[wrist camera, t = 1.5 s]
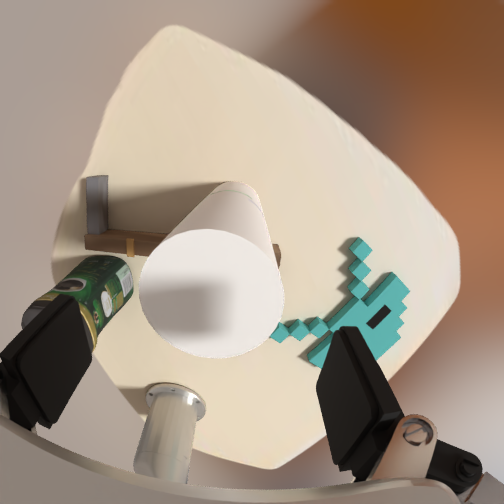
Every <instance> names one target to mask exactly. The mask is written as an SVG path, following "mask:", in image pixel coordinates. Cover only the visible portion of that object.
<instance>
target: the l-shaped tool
mask: <svg viewBox="0 0 504 504" xmlns="http://www.w3.org/2000/svg"><path fill="white" fill-rule="evenodd" d="M86 199H87V228H88V234H87V235H85V236H84V237H85V249H86V250H95V251H104V252H112V253H121V254H127V256H128V257H134V255H139V256H150V255H151V253H152V252H153V250H154V249H155V248H156V247H157V246H158V245H159V244H160V243H161V242H162V241H163V240H164V239H165V238H166V237H167V236H168V235H169V234H159V233H147V232H136V231H124V230H112V229H108V175H97V176H92V177H87V182H86ZM272 246H273V250H274V254H275V258H276V261H277V265H278V269H279V266H280V259H281V252H280V249H279V246H278V245H277V244H272Z"/></svg>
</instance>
